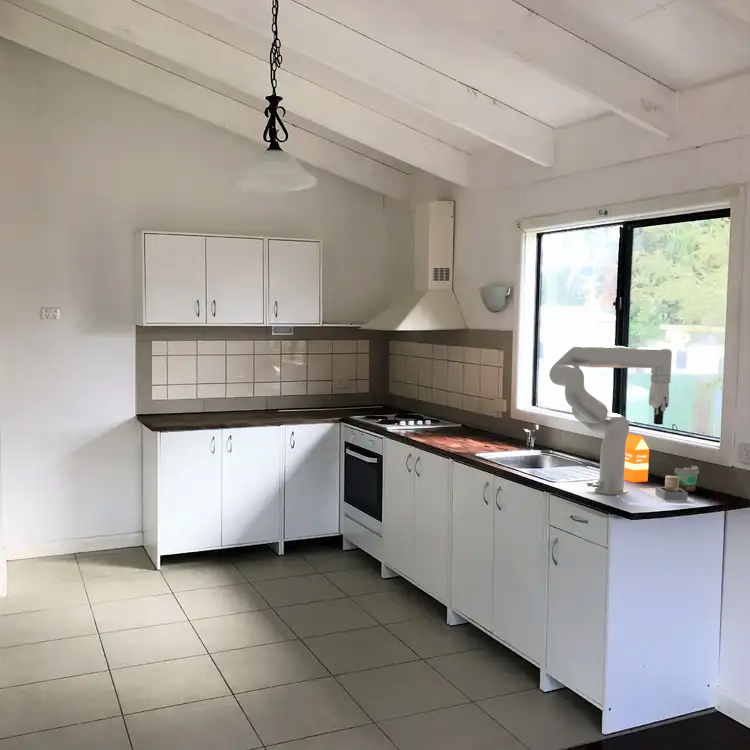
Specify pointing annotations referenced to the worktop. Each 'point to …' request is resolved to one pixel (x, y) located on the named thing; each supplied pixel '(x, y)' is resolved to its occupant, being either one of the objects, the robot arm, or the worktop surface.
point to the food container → (687, 477)
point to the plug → (671, 484)
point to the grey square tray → (671, 494)
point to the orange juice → (636, 459)
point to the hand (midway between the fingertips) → (658, 424)
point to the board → (652, 492)
